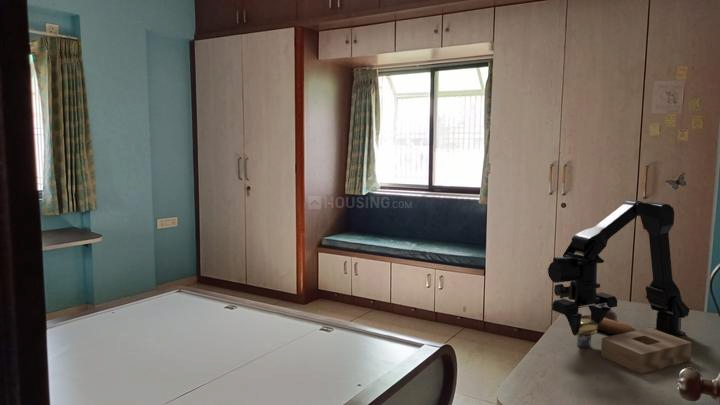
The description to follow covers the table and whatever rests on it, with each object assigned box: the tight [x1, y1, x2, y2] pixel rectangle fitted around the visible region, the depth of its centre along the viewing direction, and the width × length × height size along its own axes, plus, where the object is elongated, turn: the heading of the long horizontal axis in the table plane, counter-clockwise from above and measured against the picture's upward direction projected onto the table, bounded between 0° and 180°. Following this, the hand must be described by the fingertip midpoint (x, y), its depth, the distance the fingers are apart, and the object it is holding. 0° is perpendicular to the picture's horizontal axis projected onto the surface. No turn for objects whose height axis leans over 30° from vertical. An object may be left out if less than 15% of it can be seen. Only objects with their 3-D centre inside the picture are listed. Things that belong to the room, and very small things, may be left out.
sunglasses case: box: [581, 314, 637, 335], centre depth 154 cm, size 18×7×7 cm
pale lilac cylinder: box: [604, 303, 618, 321], centre depth 168 cm, size 5×5×18 cm
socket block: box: [601, 327, 692, 375], centre depth 134 cm, size 18×12×5 cm, turn 112°
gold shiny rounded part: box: [576, 318, 598, 350], centre depth 143 cm, size 7×7×7 cm
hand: (584, 333), depth 143 cm, fingers closed on gold shiny rounded part, 7 cm apart
